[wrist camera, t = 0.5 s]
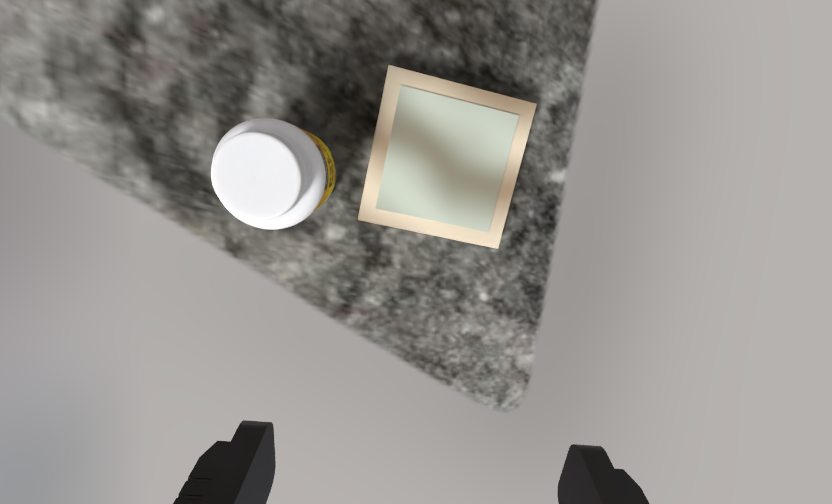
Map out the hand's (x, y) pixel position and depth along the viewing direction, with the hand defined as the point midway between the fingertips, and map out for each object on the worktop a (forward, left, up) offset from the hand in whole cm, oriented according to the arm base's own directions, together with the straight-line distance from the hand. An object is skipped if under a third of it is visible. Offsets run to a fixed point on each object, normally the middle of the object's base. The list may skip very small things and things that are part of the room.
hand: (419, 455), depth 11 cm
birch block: (-8, +2, -20) cm, 22 cm away
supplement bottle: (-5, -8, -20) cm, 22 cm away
